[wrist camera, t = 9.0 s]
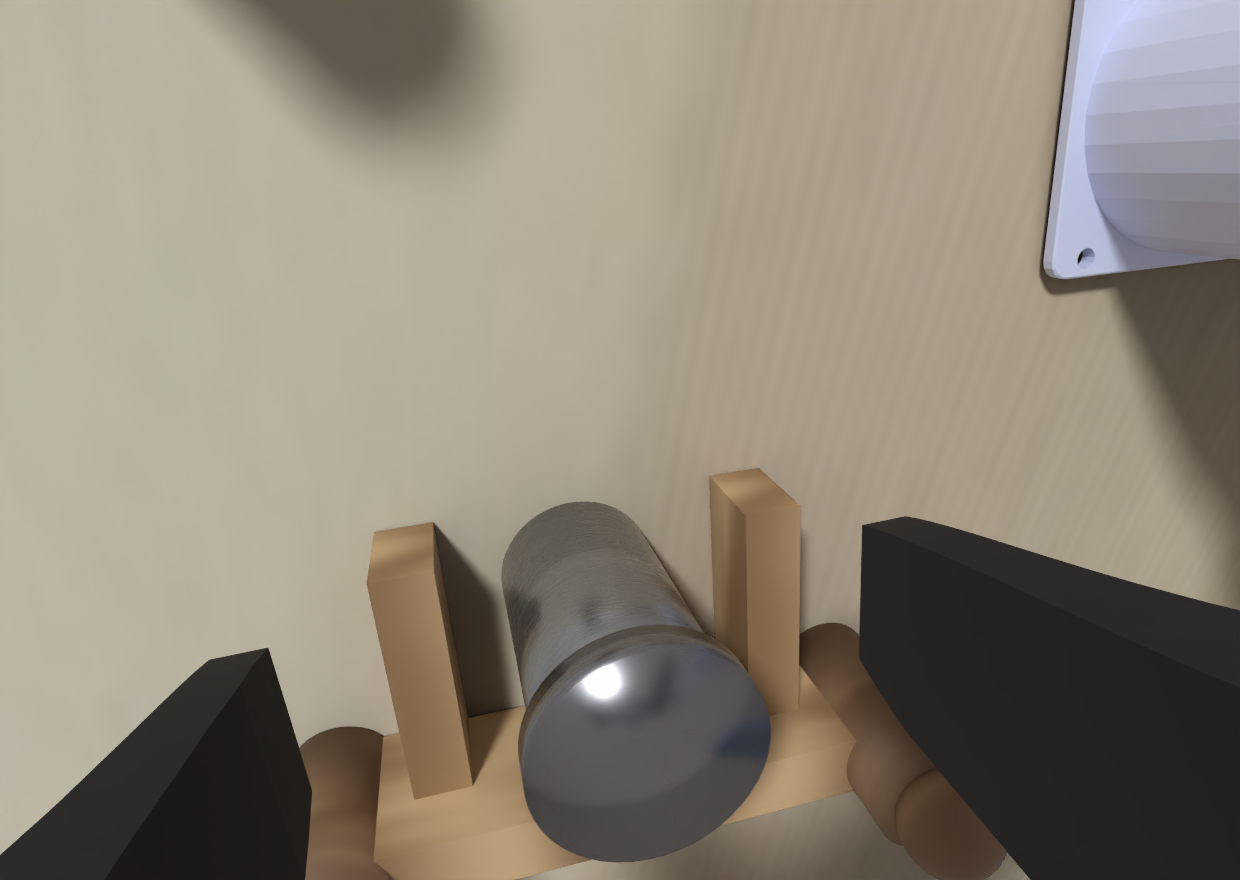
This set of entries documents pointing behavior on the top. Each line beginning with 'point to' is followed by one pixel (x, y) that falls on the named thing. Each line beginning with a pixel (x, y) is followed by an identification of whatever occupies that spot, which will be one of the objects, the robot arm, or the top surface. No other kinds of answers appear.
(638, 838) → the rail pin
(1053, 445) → the top surface
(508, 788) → the wooden rack
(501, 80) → the top surface
